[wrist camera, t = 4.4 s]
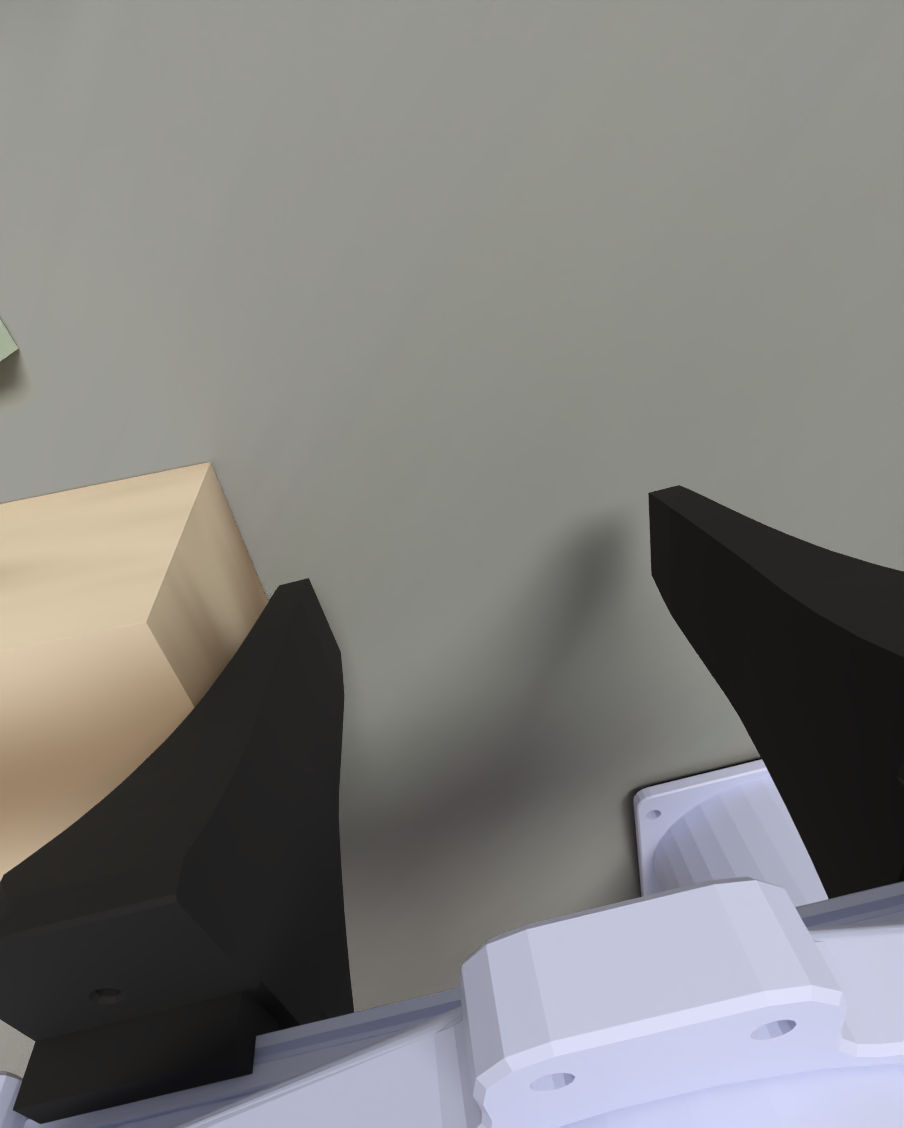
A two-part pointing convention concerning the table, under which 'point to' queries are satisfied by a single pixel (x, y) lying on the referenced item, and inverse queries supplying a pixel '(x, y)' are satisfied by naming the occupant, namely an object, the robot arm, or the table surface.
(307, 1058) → the robot arm
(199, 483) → the block
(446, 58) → the table surface
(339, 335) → the table surface
